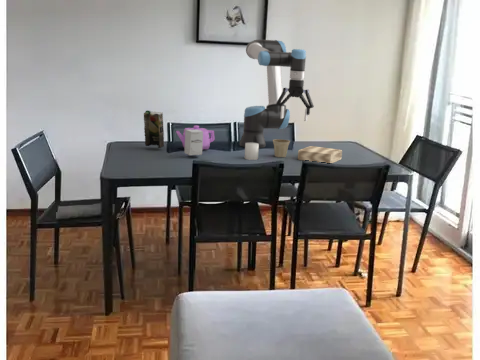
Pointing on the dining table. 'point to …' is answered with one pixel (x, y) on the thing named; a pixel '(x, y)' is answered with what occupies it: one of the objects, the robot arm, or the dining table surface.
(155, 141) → the juice carton
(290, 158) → the dining table surface
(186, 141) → the supplement box
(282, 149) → the flower pot
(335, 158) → the maple block
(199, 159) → the dining table surface
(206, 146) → the teakettle
